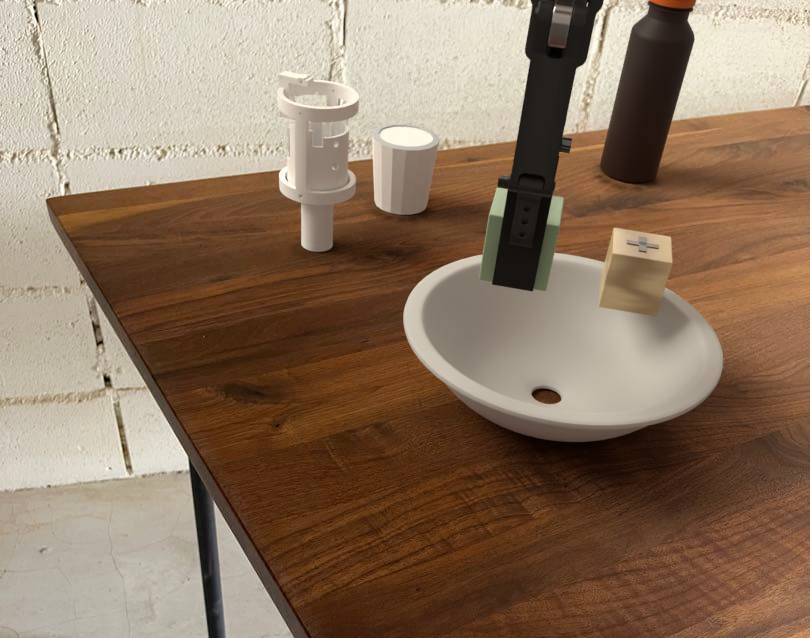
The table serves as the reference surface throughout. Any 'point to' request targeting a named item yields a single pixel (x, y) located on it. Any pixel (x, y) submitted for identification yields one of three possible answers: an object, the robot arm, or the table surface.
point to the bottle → (648, 91)
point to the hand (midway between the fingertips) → (517, 266)
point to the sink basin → (560, 351)
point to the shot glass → (403, 167)
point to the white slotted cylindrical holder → (316, 153)
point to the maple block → (635, 271)
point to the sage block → (494, 236)
